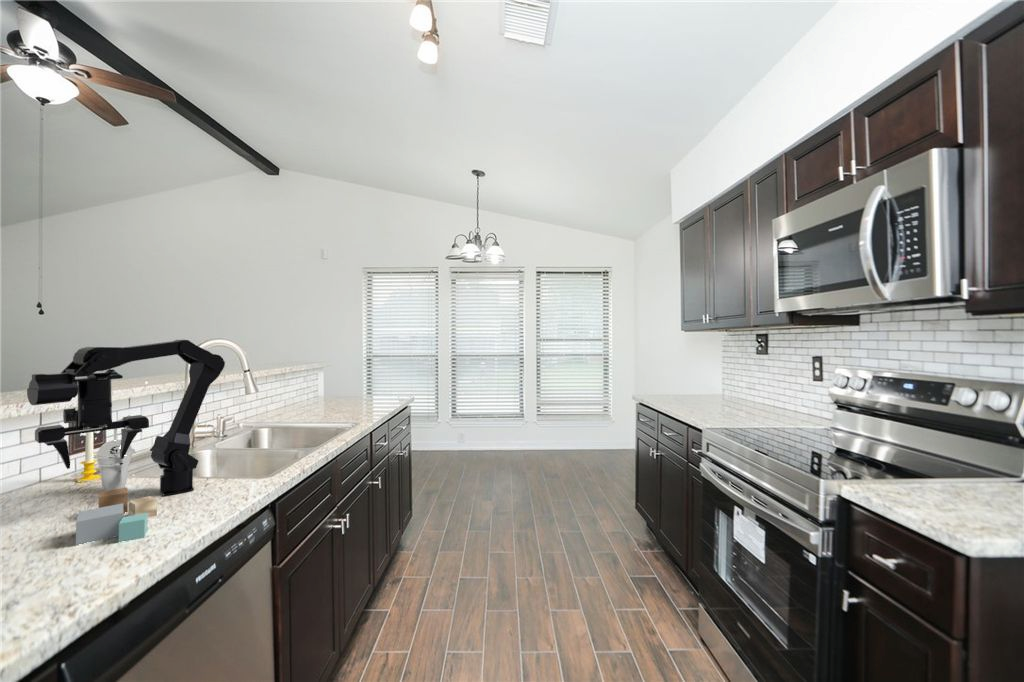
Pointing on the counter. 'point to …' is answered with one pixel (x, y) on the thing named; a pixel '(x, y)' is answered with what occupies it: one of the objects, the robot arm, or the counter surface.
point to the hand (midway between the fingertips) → (96, 463)
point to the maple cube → (143, 506)
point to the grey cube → (98, 523)
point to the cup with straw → (113, 464)
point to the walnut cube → (114, 498)
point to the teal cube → (133, 527)
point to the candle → (89, 460)
